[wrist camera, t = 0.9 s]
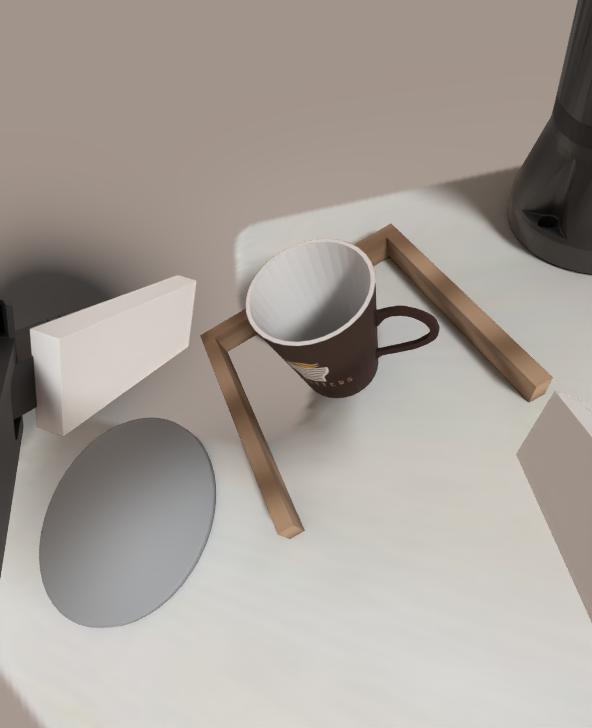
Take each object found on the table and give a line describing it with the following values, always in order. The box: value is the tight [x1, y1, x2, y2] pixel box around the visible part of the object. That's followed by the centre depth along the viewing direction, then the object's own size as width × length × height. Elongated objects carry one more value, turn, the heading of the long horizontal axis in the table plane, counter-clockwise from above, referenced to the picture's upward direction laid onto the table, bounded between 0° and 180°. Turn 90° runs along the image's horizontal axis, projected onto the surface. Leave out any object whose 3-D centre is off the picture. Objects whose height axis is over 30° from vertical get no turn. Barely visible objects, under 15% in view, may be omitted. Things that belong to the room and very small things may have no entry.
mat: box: [39, 418, 216, 628], centre depth 32 cm, size 16×16×1 cm
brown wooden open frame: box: [201, 224, 553, 539], centre depth 32 cm, size 19×20×2 cm
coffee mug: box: [246, 239, 439, 398], centre depth 28 cm, size 12×9×10 cm
